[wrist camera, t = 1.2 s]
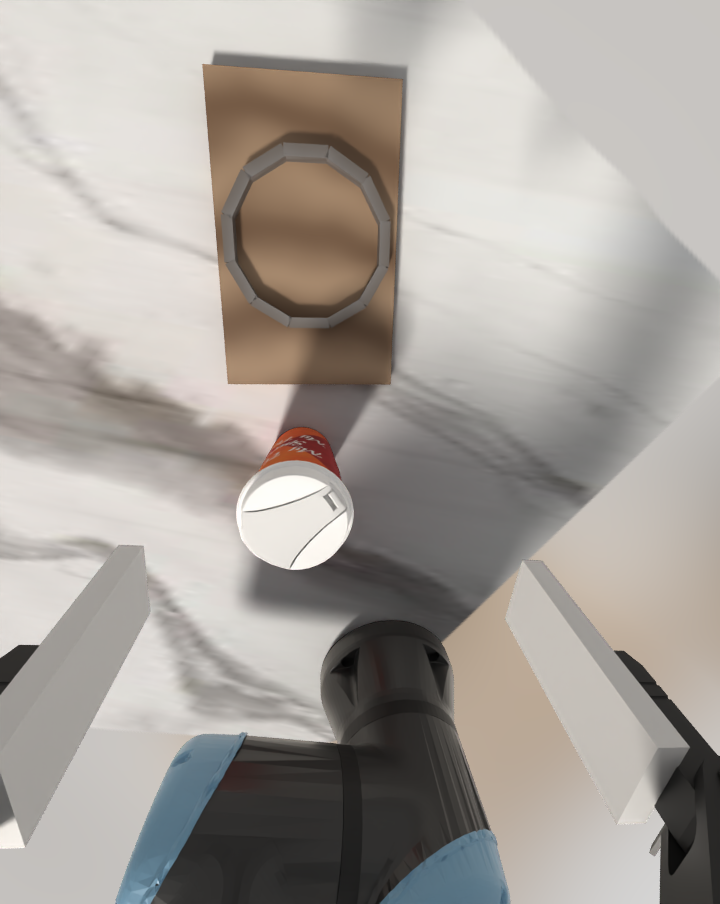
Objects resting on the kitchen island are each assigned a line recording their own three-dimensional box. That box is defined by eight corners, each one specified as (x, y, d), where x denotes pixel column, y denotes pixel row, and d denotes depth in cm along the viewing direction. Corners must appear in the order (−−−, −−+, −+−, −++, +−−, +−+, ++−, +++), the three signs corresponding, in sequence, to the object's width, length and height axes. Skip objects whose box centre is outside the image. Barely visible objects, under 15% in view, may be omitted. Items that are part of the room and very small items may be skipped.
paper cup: (314, 399, 38) (312, 444, 25) (357, 465, 40) (377, 538, 27) (243, 444, 39) (204, 511, 25) (290, 506, 41) (277, 597, 28)
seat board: (387, 381, 38) (392, 386, 36) (231, 381, 37) (224, 386, 34) (398, 89, 31) (406, 69, 29) (207, 76, 30) (197, 53, 27)
